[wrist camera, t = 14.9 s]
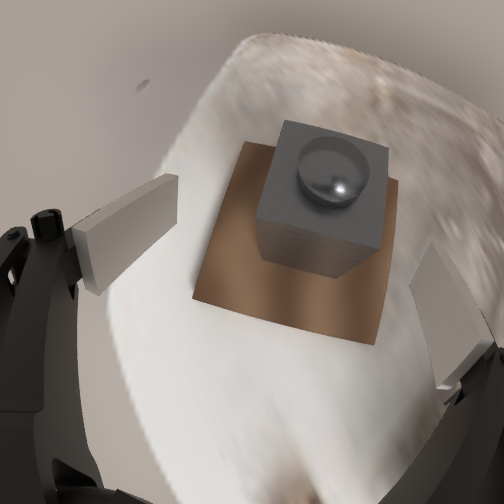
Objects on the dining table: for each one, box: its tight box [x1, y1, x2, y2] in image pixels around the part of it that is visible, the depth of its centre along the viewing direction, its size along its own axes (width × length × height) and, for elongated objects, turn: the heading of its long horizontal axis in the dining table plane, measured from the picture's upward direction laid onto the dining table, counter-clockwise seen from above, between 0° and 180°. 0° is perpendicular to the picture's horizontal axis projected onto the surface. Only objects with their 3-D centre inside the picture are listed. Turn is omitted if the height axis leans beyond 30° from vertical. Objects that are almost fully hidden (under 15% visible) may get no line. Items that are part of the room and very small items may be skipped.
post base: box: [192, 142, 398, 345], centre depth 22 cm, size 16×16×6 cm
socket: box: [255, 120, 389, 279], centre depth 18 cm, size 6×6×11 cm
